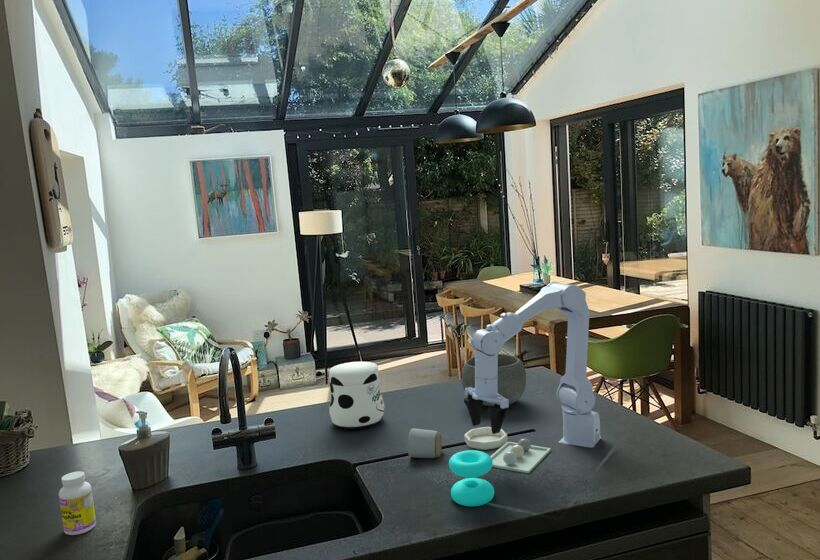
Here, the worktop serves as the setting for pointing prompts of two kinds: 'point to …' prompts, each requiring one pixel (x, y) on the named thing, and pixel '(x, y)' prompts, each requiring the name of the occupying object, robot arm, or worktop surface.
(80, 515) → the supplement bottle
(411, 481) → the worktop surface
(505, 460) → the pebble grey
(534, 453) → the parts tray
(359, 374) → the milk container
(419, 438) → the ceramic mug
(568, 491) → the worktop surface
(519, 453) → the beige round ball
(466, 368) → the bowl
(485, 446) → the stoneware bowl
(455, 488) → the donuts
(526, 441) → the pebble slate
